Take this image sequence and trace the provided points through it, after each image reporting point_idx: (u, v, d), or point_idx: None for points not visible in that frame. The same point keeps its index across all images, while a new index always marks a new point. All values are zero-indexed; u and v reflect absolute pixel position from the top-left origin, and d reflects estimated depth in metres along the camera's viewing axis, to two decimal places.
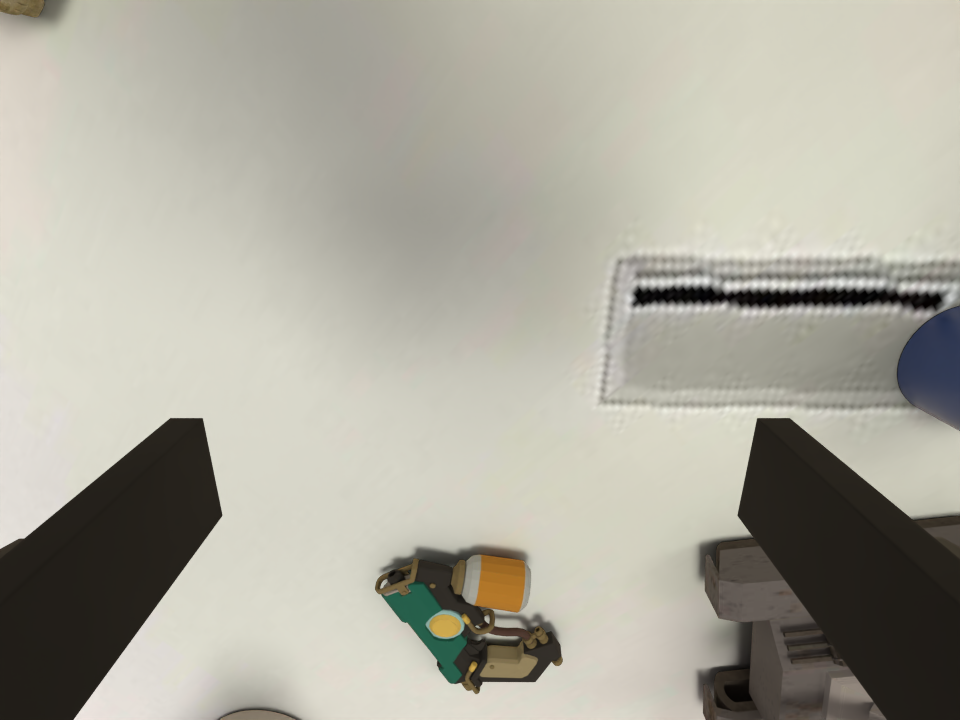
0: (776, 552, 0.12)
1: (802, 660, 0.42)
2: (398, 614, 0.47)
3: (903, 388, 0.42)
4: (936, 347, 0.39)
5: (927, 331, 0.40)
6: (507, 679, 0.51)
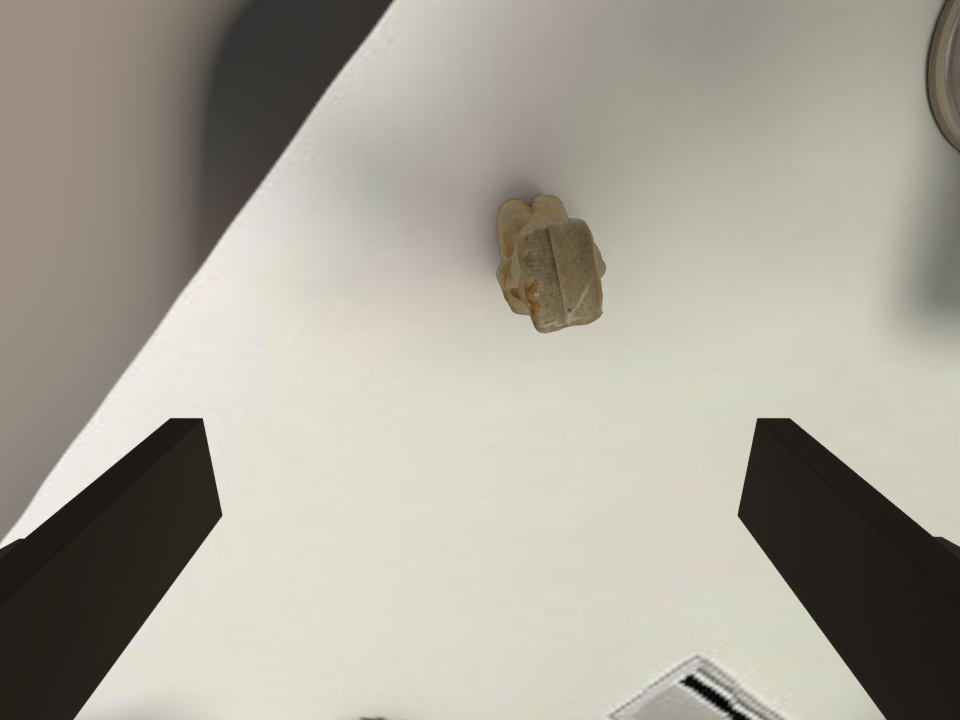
0: (776, 552, 0.12)
1: None
2: None
3: None
4: None
5: None
6: None
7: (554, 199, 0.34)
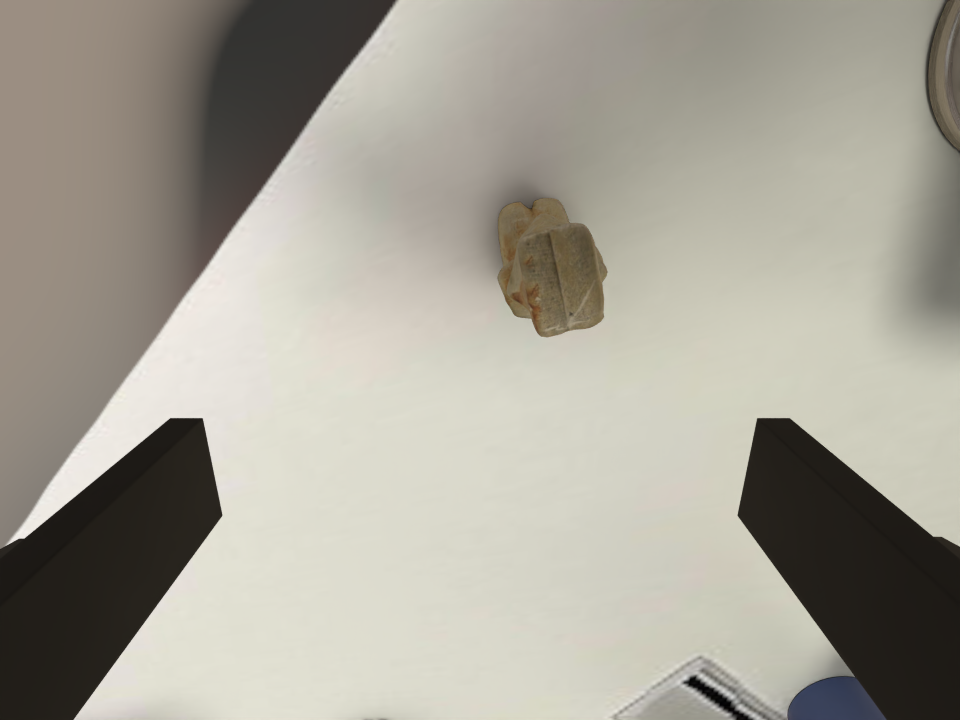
0: (776, 553, 0.12)
1: None
2: None
3: (801, 698, 0.53)
4: (853, 699, 0.50)
5: (851, 684, 0.52)
6: None
7: (555, 202, 0.34)
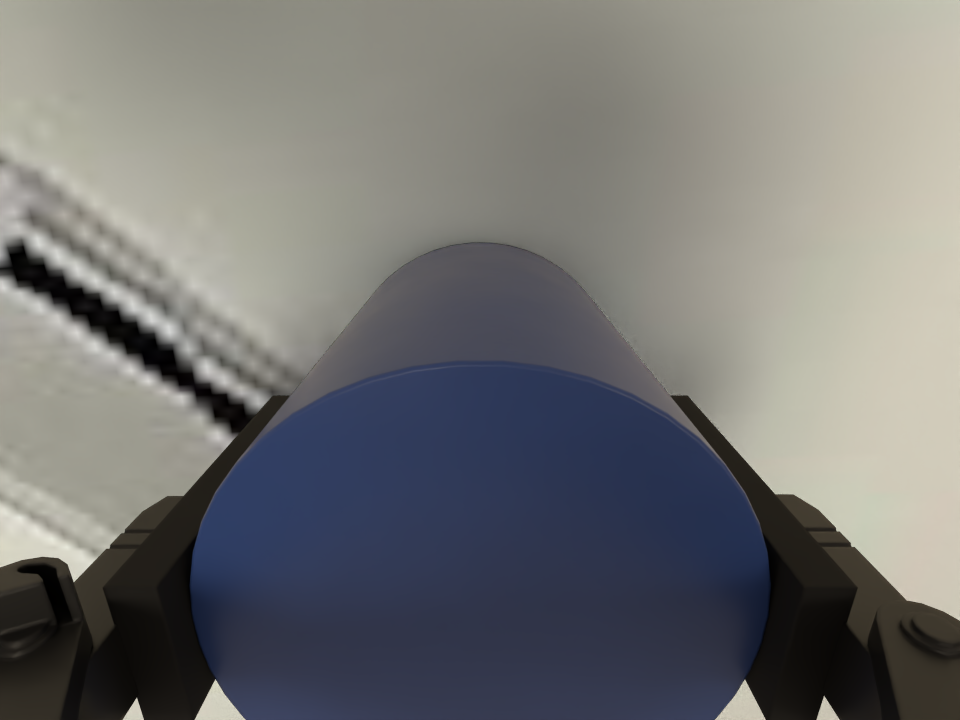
0: None
1: None
2: None
3: None
4: (458, 256, 0.15)
5: (487, 246, 0.16)
6: None
7: None
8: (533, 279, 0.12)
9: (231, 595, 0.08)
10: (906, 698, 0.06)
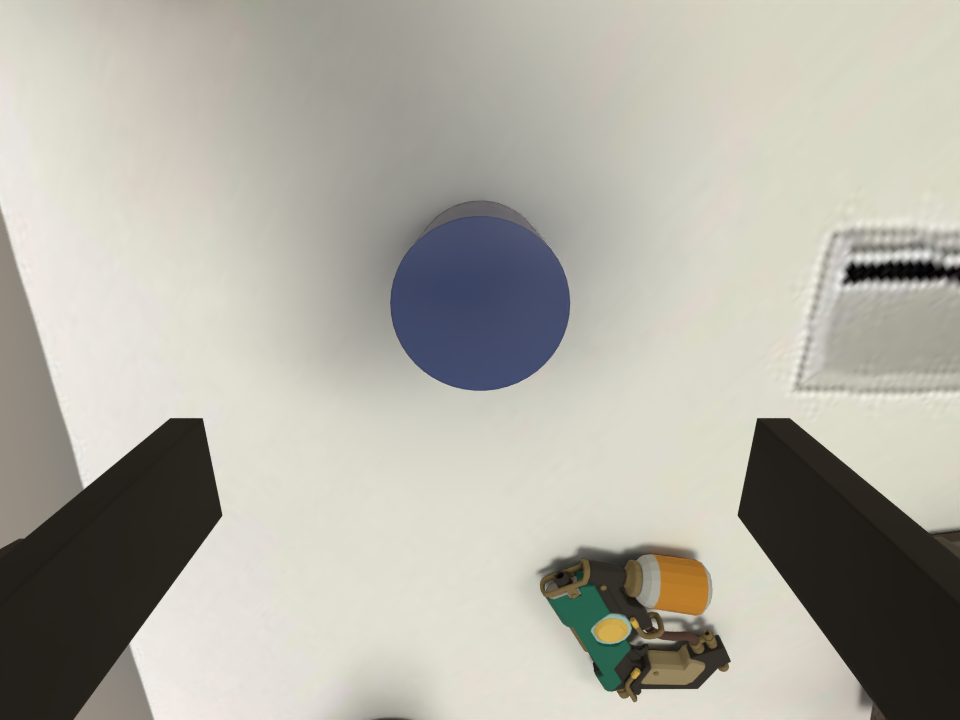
0: (776, 553, 0.12)
1: None
2: (563, 618, 0.44)
3: None
4: (470, 204, 0.33)
5: (483, 201, 0.34)
6: (668, 686, 0.48)
7: None
8: (501, 209, 0.31)
9: (404, 295, 0.26)
10: None
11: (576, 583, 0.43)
